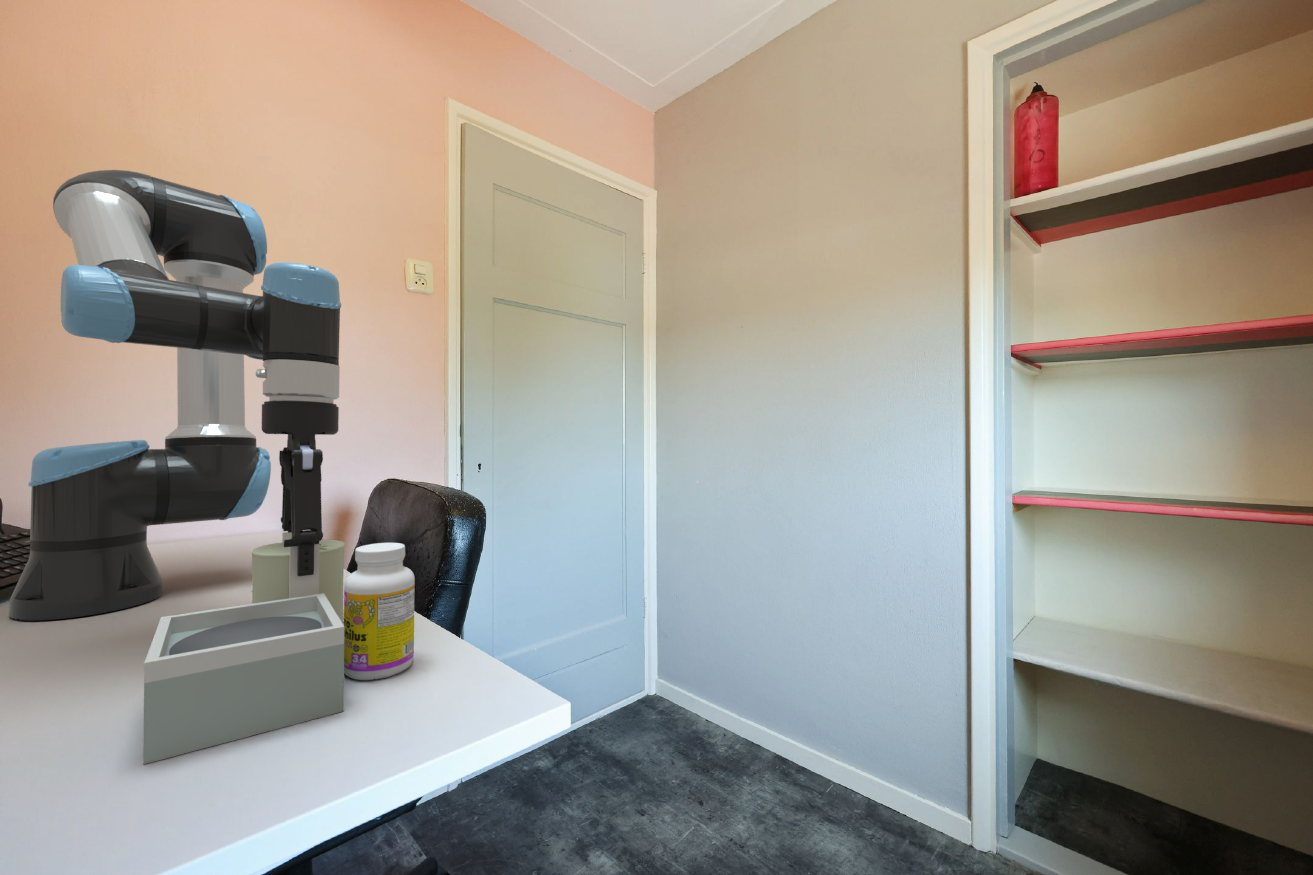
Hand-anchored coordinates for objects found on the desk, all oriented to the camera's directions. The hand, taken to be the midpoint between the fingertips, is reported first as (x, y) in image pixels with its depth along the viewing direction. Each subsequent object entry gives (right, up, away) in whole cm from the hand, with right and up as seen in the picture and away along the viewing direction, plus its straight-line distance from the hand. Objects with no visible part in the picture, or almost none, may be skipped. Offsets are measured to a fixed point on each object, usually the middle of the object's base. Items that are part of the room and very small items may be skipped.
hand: (299, 593), depth 64 cm
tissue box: (+5, -6, -14) cm, 16 cm away
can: (0, -6, 0) cm, 6 cm away
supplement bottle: (+12, -6, -6) cm, 15 cm away
